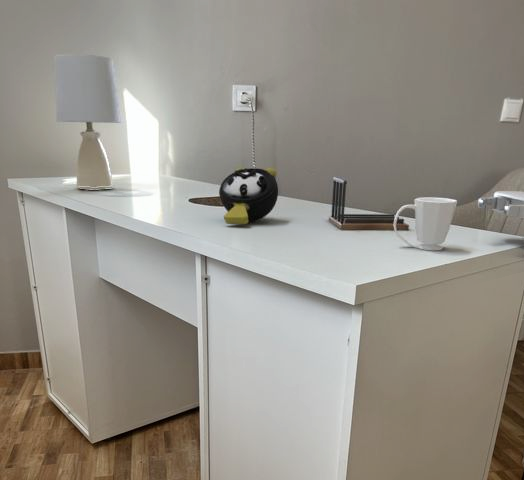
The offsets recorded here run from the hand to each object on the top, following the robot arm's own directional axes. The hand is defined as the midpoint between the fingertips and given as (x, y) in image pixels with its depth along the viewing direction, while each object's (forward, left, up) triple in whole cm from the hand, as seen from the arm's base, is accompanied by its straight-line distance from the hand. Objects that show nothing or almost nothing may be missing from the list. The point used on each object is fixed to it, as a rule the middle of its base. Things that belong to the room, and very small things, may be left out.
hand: (492, 206), depth 94 cm
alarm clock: (+40, -29, -7) cm, 49 cm away
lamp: (+84, -94, -7) cm, 126 cm away
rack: (+15, -24, -7) cm, 29 cm away
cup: (+12, 0, -7) cm, 14 cm away
